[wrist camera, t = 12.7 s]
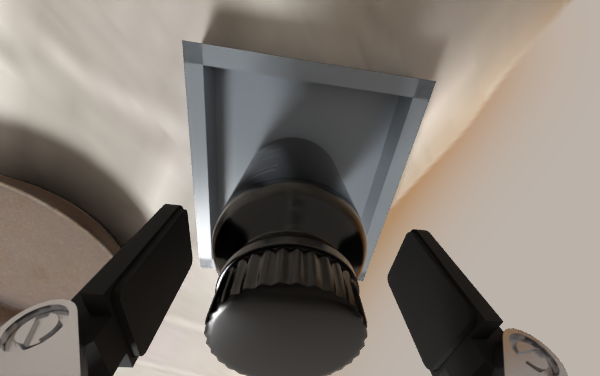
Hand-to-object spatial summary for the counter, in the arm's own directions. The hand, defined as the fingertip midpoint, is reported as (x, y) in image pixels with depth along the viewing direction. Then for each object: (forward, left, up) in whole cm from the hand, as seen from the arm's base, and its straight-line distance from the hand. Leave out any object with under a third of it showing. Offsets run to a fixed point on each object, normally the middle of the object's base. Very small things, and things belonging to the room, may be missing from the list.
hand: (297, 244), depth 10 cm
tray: (+1, 0, -9) cm, 9 cm away
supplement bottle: (+1, 0, -8) cm, 8 cm away
